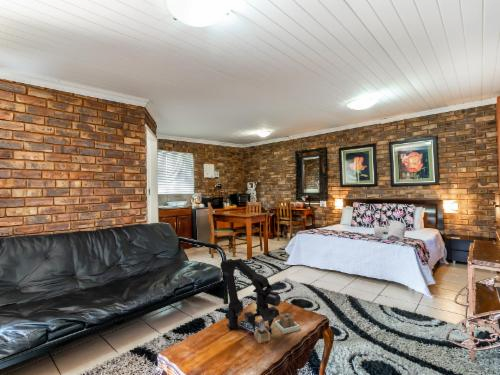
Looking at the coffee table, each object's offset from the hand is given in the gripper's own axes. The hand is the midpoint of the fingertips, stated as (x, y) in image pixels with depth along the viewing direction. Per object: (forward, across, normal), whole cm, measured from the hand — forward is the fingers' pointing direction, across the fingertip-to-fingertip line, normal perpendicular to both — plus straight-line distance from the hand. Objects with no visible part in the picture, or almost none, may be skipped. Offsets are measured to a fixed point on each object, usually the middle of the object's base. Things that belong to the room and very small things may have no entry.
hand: (262, 329), depth 147 cm
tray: (+5, +18, +4) cm, 19 cm away
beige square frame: (+5, 0, 0) cm, 5 cm away
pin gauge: (+5, 0, 0) cm, 5 cm away
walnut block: (+4, +18, +4) cm, 19 cm away
